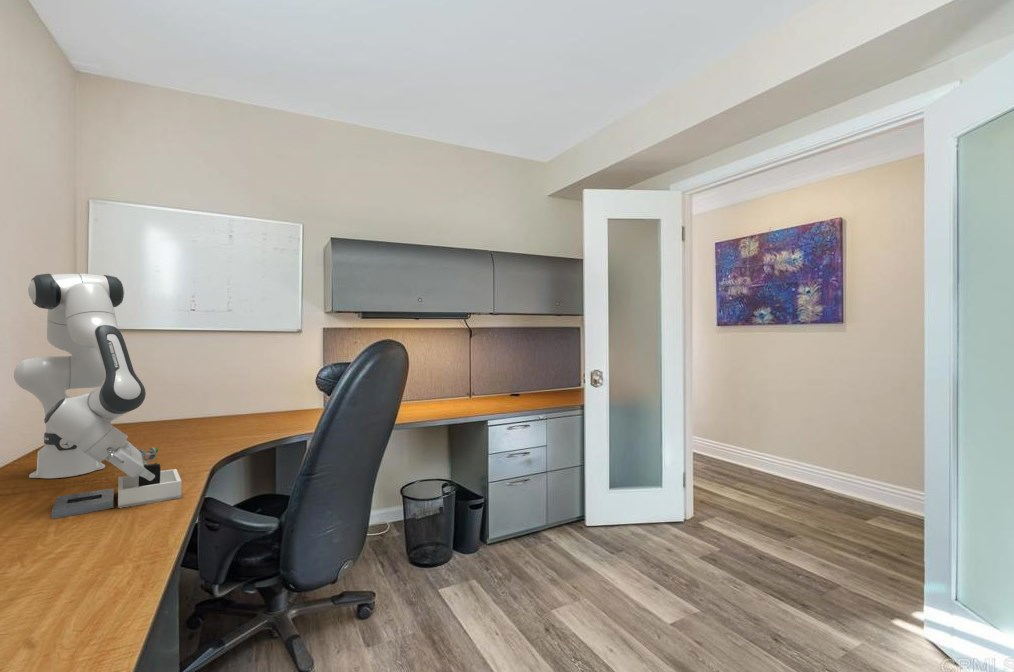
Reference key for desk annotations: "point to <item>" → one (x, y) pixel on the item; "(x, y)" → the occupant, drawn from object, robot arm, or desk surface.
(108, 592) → the desk surface
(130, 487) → the tray
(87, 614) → the desk surface
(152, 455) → the mechanical component
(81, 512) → the plate
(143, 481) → the ink cartridge
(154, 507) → the desk surface
